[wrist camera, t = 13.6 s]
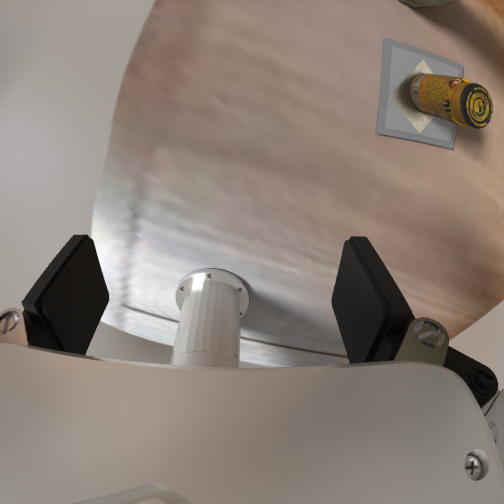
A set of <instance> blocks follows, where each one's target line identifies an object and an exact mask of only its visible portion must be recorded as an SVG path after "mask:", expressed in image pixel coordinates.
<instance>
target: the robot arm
mask: <svg viewBox="0 0 504 504" xmlns="http://www.w3.org/2000/svg"><path fill="white" fill-rule="evenodd" d="M108 302H109V292H108V289H107V286H106V283H105V280H104V277H103V273H102V270H101V267H100V263H99V260H98V256H97V252H96V249H95V245H94V241H93V240H92V239H91V238H90V237H89V236H88V235H73V236H72V237H71V239H70V240H69V241H68V242H67V243H66V245H65V246H64V247H63V248H62V249H61V251H60V252H59V253H58V254H57V255H56V257H55V258H54V259H53V260H52V262H51V263H50V264H49V266H48V267H47V268H46V270H45V271H44V272H43V274H42V275H41V276H40V277H39V279H38V280H37V282H36V283H35V284H34V286H33V287H32V288H31V290H30V291H29V293H28V294H27V295H26V297H25V298H24V300H23V301H22V305H23V307H24V311H23V312H21V310H20V309H17V308H9V309H6V310H4V311H3V312H1V313H0V504H504V389H502V390H501V391H499V390H498V381H497V378H496V376H495V374H494V373H493V371H492V370H491V369H490V368H488V367H487V366H485V365H483V364H481V363H480V362H478V361H476V360H474V359H472V358H470V357H468V356H466V355H465V354H463V353H461V352H459V351H457V350H455V349H454V348H452V347H450V346H448V345H449V335H448V332H447V331H446V329H445V328H444V327H443V326H442V325H441V324H440V323H439V322H437V321H435V320H433V319H430V318H425V317H421V318H416V319H415V317H414V315H413V313H412V310H411V309H410V307H409V305H408V303H407V302H406V300H405V298H404V296H403V295H402V293H401V291H400V290H399V288H398V286H397V284H396V283H395V281H394V279H393V278H392V276H391V275H390V273H389V271H388V270H387V268H386V266H385V265H384V263H383V262H382V260H381V258H380V257H379V255H378V254H377V252H376V251H375V249H374V248H373V246H372V244H371V243H370V241H369V240H368V238H367V237H357V236H351V237H350V239H349V240H346V241H345V243H344V247H343V252H342V256H341V261H340V265H339V270H338V274H337V278H336V283H335V287H334V291H333V295H332V307H333V310H334V313H335V317H336V320H337V323H338V326H339V329H340V332H341V336H342V339H343V342H344V345H345V349H346V352H347V355H348V359H349V362H350V364H340V365H323V366H303V367H274V368H240V318H242V317H243V316H244V314H245V313H246V311H247V309H248V306H249V294H248V290H247V288H246V286H245V285H244V284H243V282H242V281H241V280H240V279H238V278H237V277H236V276H234V275H232V274H231V273H228V272H226V271H223V270H218V269H201V270H197V271H194V272H192V273H190V274H188V275H187V276H185V277H184V278H183V279H182V280H181V281H180V283H179V285H178V287H177V291H176V303H177V306H178V308H179V309H180V311H181V314H180V319H179V324H178V329H177V333H176V338H175V343H174V348H173V354H172V359H171V364H170V365H166V364H154V363H142V362H133V361H124V360H116V359H108V358H101V357H100V358H99V357H94V356H87V355H85V354H86V352H87V349H88V347H89V345H90V342H91V340H92V338H93V335H94V333H95V331H96V328H97V326H98V324H99V322H100V319H101V317H102V315H103V313H104V311H105V309H106V306H107V304H108Z"/></svg>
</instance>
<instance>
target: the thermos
mask: <svg viewBox="0 0 504 504" xmlns="http://www.w3.org/2000/svg"><path fill="white" fill-rule="evenodd" d="M398 1H400V2H401V3H403V4H405V5H407V6H409V7H413V8H424V7H430V6H437V5H442V4H446V3H450V2H452V1H454V0H398Z"/></svg>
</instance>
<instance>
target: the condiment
mask: <svg viewBox="0 0 504 504" xmlns="http://www.w3.org/2000/svg"><path fill="white" fill-rule="evenodd" d="M389 97H390V98H391V99H392V101H393V102H394V103H395V104H396V105H397V107H398V108H399V109H400V110H401V111H402V113H403V114H404V115H405V116H406V117H407V119H408V120H409V121H410V122H411V123H412V125H413V126H414V127H415V128H416V130H417V131H418V132H419V133H421V131H423V129H424V128H425V127H426V126H427V125H428V124H429V122H430V121H431V120H432V119H433V118H434V117H437V118H441V119H444V120H446V121H449V122H452V123H455V124H457V125H461V126H471V127H474V128H477V129H479V128H482V127H485V126H486V125H487V124H488V123H489V121H490V119H491V117H492V113H493V105H492V100H491V97H490V95H489V93H488V91H487V90H486V89H485V88H484V87H483V86H481V85H479V84H477V83H472V82H470V81H468V80H466V79H464V78H460V77H452V76H445V75H437V74H433V72H432V71H431V69H430V68H429V67H428V65H427V64H426V63H425V62H424V60H422V61H421V62H420V63H419V65H418V66H417V67H416V68H415V69H414V70H413V71H412V72H411V73H410V74H409V75H408V76H407V78H406V79H405V80H404V81H403V82H402V83H401V84H400V85H399V86H398V87H397V89H396V90H395V91H394V92H393V93H392V94H391V95H390V96H389ZM418 113H419V114H418Z"/></svg>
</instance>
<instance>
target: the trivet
mask: <svg viewBox="0 0 504 504" xmlns="http://www.w3.org/2000/svg"><path fill="white" fill-rule="evenodd" d="M422 60H424V62H425V63H426V64H427V65H428V67H429V68H430V69H431V71H432V72H433V74H437V75H445V76H452V77H460V78H463V65H460V64H458V63H456V62H453V61H451V60H449V59H446V58H444V57H441V56H438V55H436V54H433V53H431V52H428V51H425V50H422V49H419V48H416V47H413V46H410V45H407V44H404V43H401V42H397V41H394V40H390V39H387V38H384V39H383V56H382V72H381V85H380V96H379V106H378V115H377V124H376V132H375V133H377V134H382V135H388V136H394V137H399V138H405V139H410V140H415V141H420V142H424V143H429V144H433V145H438V146H442V147H446V148H450V149H453V146H454V141H455V135H456V129H457V124H455V123H452V122H449V121H446V120H444V119H441V118H437V117H434V118H433V119H432V120H431V121H430V122H429V124H428V125H427V126H426V127H425V128H424V129H423V131H421V133H419V132H418V131H417V130H416V128H415V127H414V126H413V125H412V123H411V122H410V121H409V120H408V119H407V117H406V116H405V115H404V114H403V113H402V111H401V110H400V109H399V108H398V107H397V105H396V104H395V103H394V102H393V101H392V99H391V98H390V97H389V96H390V95H391V94H392V93H393V92H394V91H395V90H396V89H397V87H398V86H399V85H400V84H401V83H402V82H403V81H404V80H405V79H406V78H407V76H408V75H409V74H410V73H411V72H412V71H413V70H414V69H415V68H416V67H417V66H418V65H419V63H420V62H421V61H422ZM418 114H419V113H418Z"/></svg>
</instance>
